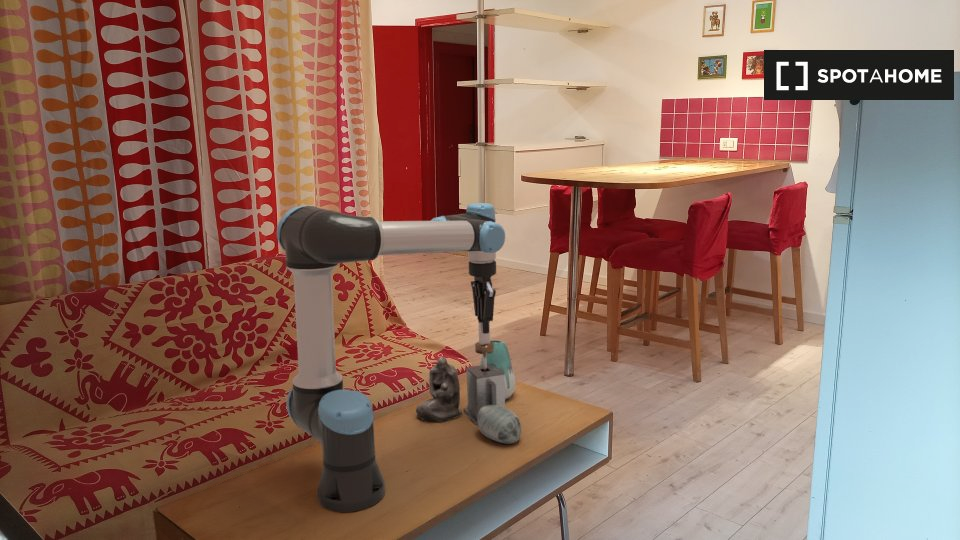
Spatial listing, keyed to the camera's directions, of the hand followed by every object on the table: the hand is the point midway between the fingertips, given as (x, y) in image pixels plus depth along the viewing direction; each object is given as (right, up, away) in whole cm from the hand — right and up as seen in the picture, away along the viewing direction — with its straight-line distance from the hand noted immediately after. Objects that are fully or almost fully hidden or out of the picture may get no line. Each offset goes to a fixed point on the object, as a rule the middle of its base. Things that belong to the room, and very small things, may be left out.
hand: (484, 343), depth 201 cm
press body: (+1, -21, +5) cm, 21 cm away
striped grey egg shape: (+4, -24, -9) cm, 26 cm away
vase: (+4, -18, +18) cm, 26 cm away
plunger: (0, -13, +3) cm, 13 cm away
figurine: (-12, -21, +5) cm, 25 cm away
